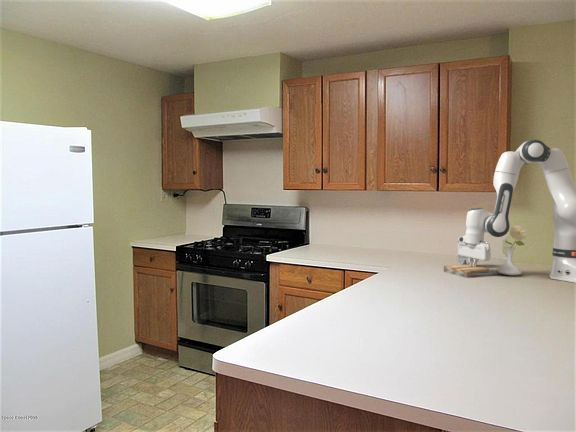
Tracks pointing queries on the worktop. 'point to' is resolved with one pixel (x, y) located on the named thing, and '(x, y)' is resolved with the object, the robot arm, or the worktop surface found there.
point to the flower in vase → (509, 266)
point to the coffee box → (463, 260)
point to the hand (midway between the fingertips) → (472, 266)
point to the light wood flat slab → (471, 268)
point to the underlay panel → (491, 273)
